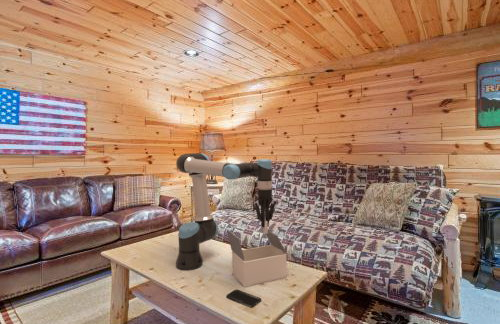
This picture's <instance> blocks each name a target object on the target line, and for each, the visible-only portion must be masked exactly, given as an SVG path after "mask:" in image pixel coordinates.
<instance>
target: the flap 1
mask: <svg viewBox="0 0 500 324" xmlns="http://www.w3.org/2000/svg"><path fill="white" fill-rule="evenodd" d="M226 232H227V237H228V241H229V245H230V251H231V252H232V251H233V252H234V253H235V254H236V255H237V256H238V257H240V258H241V259H242V260H243V261H245V260H244V256H243V252H242V250H243V248H242V245H241V240H240V238H239V237H238V236H237V235H235V234H234V233H233V232H232V231H230V230H229V229H226Z"/></svg>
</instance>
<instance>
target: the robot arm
mask: <svg viewBox="0 0 500 324" xmlns="http://www.w3.org/2000/svg"><path fill="white" fill-rule="evenodd" d="M175 165H176V168H177V170H178V171H179V172H180V173H183V174H188V176H189V177H190V178H191V182H192V190H193V191H192V192H193V197H194V206H195V216H196V217H195V218H194V221H193V222H187V223H186V222H185V223H183V224H181V225H180V226H179V228H178V234H177V236H178V254H177V258H176V261H175V267H176V269H179V270H182V271H191V270H196V269H199V268H201V267H202V266H203V262H204V261H203V257H202V255H201V251H200V244H202V243H205V242H207V241H211V240H213V239H214V238H216V236H217V235H218V233H219V225H218V222H217V221H216V220H215V219H214V217H213V215H212V214H211V208H210V206H211V205H210V200H209V191H208V190H209V189H208V183H207V182H208V181H207V175H209V176H214V177H215V176H216V177H222V178H225V179H227V180H233V181H234V180H237V179H242V178H243V179H244V178H257V199H256V201H253V203H252V205H253V206H254V208H255V213H256V216H257V220H259V221H260V223H261V226H260V227H261V228H262V227H263V229H262V233H263V234H265V235H266V234H267V233H268V230H269V229H268V227H269V226H270V221H271V220H272V219H273V216H274V211H275V207H276V204H277V201H276V200H274V199H273V197H272V196H273V189H272V188H273V181H272V180H273V163H272V160H271V159H267V158H266V159H264V158H263V159H261V158H260V159H258V160H257V162H246V161H245V162H240V163H230V162H222V161H221V162H220V161H214V160H211V159H210V158H209V156H208V155H207V154H205V153H203V152H202V153H200V152H198V153H197V152H196V153H195V152H194V153H193V152H192V153H183V154H181V155H179V157H177V158H176V163H175Z"/></svg>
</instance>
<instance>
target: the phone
mask: <svg viewBox="0 0 500 324" xmlns="http://www.w3.org/2000/svg"><path fill="white" fill-rule="evenodd" d="M225 296H226V299H228V300H230V301H234V302H235V303H237V304H240V305H243V306H245V307H248V308H251V309H253V308H254V307H256V306H258V305H259V304H260V303H261V302H262V298H261V297H258V296H256V295H253V294H251V293H248V292H245V291H243V290H240V289H234V290H232V291H231V292H229V293H228V294H226V295H225Z"/></svg>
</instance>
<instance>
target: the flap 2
mask: <svg viewBox="0 0 500 324" xmlns="http://www.w3.org/2000/svg"><path fill="white" fill-rule="evenodd" d="M261 229H262V230H263V227H262V226H261ZM265 236H266V237H267V239H268V241H269V243H270V245H273V246H274V247H276V248H277V249H279V250H280V251H282V252H284V253H285V254H287V250H286V248H285V247H284V245H283V244H282V242H281V240H280V238H279V236H278V235H277V234H276V233H274V232H272V231H271V230H269V229H268V233H267V234H265Z"/></svg>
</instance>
